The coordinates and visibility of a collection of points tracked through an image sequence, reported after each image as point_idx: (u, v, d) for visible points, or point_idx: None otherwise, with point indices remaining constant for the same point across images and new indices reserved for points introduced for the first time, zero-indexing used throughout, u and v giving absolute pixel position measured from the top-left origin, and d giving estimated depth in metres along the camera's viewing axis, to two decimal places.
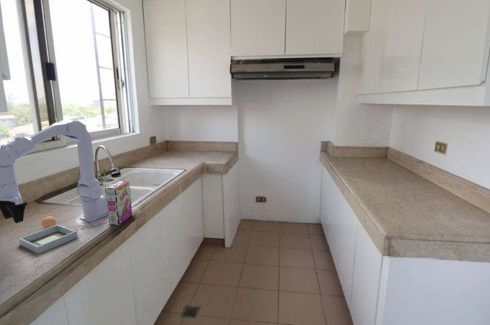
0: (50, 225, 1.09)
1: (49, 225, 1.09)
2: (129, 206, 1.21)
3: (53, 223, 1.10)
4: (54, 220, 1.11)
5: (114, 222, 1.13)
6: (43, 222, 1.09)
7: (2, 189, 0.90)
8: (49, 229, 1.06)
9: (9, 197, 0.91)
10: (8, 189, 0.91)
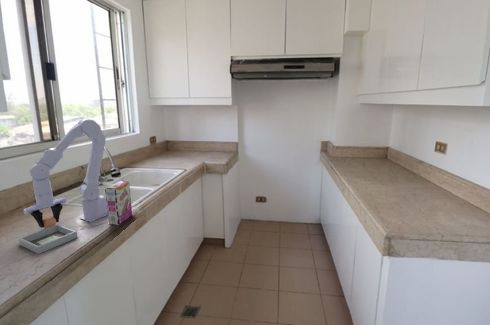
0: (50, 225, 1.09)
1: (49, 225, 1.09)
2: (129, 206, 1.21)
3: (53, 223, 1.10)
4: (54, 220, 1.11)
5: (114, 222, 1.13)
6: (43, 222, 1.09)
7: None
8: (49, 229, 1.06)
9: (36, 205, 1.07)
10: (35, 198, 1.06)
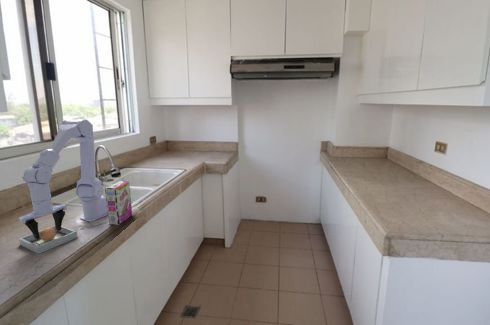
0: (49, 237, 0.99)
1: (48, 237, 0.98)
2: (129, 206, 1.21)
3: (52, 235, 0.99)
4: (53, 232, 1.00)
5: (114, 222, 1.13)
6: (41, 234, 0.98)
7: None
8: None
9: (33, 213, 0.96)
10: None
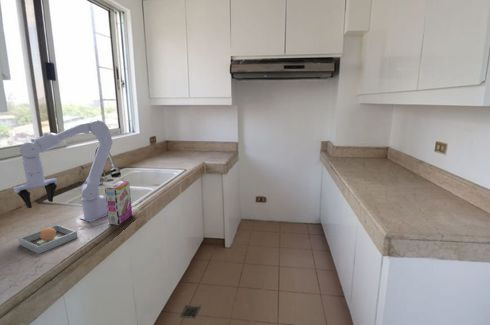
0: (49, 237, 0.99)
1: (48, 237, 0.98)
2: (129, 206, 1.21)
3: (52, 235, 0.99)
4: (54, 232, 1.00)
5: (114, 222, 1.13)
6: (41, 234, 0.98)
7: None
8: None
9: (26, 184, 1.05)
10: (26, 177, 1.05)
